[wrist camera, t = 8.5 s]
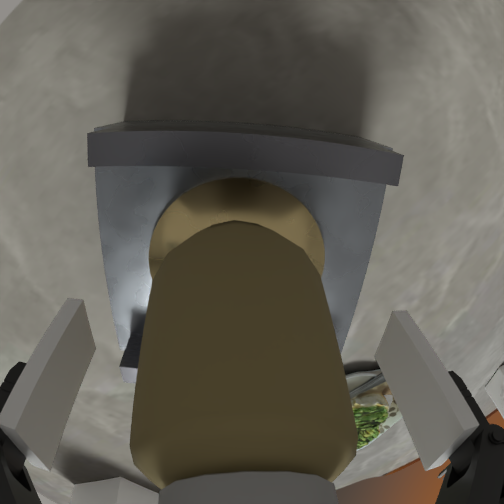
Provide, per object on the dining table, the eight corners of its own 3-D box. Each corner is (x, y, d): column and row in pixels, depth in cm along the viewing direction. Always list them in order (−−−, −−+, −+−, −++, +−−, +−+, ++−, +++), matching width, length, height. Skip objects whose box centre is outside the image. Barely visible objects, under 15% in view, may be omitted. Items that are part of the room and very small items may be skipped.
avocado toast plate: (350, 326, 28) (366, 361, 24) (443, 369, 33) (459, 394, 29) (243, 431, 35) (245, 462, 31) (345, 450, 40) (352, 474, 36)
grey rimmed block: (135, 309, 25) (109, 380, 18) (123, 121, 19) (68, 135, 12) (324, 316, 27) (350, 386, 20) (359, 137, 20) (420, 159, 13)
